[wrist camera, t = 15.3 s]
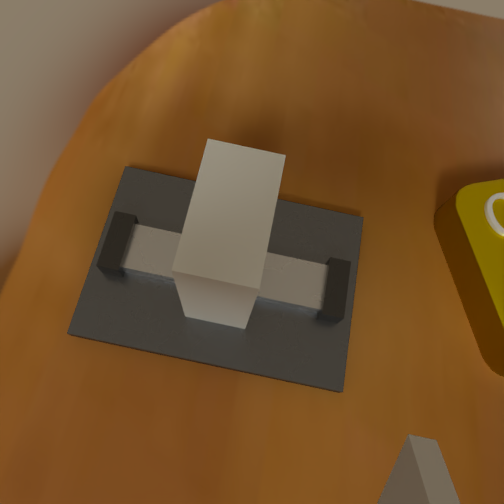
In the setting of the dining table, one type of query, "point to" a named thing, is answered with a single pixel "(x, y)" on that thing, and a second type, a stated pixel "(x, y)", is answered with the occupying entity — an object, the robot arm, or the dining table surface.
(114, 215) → the mounting plate
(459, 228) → the element tile
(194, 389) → the dining table surface
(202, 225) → the block
